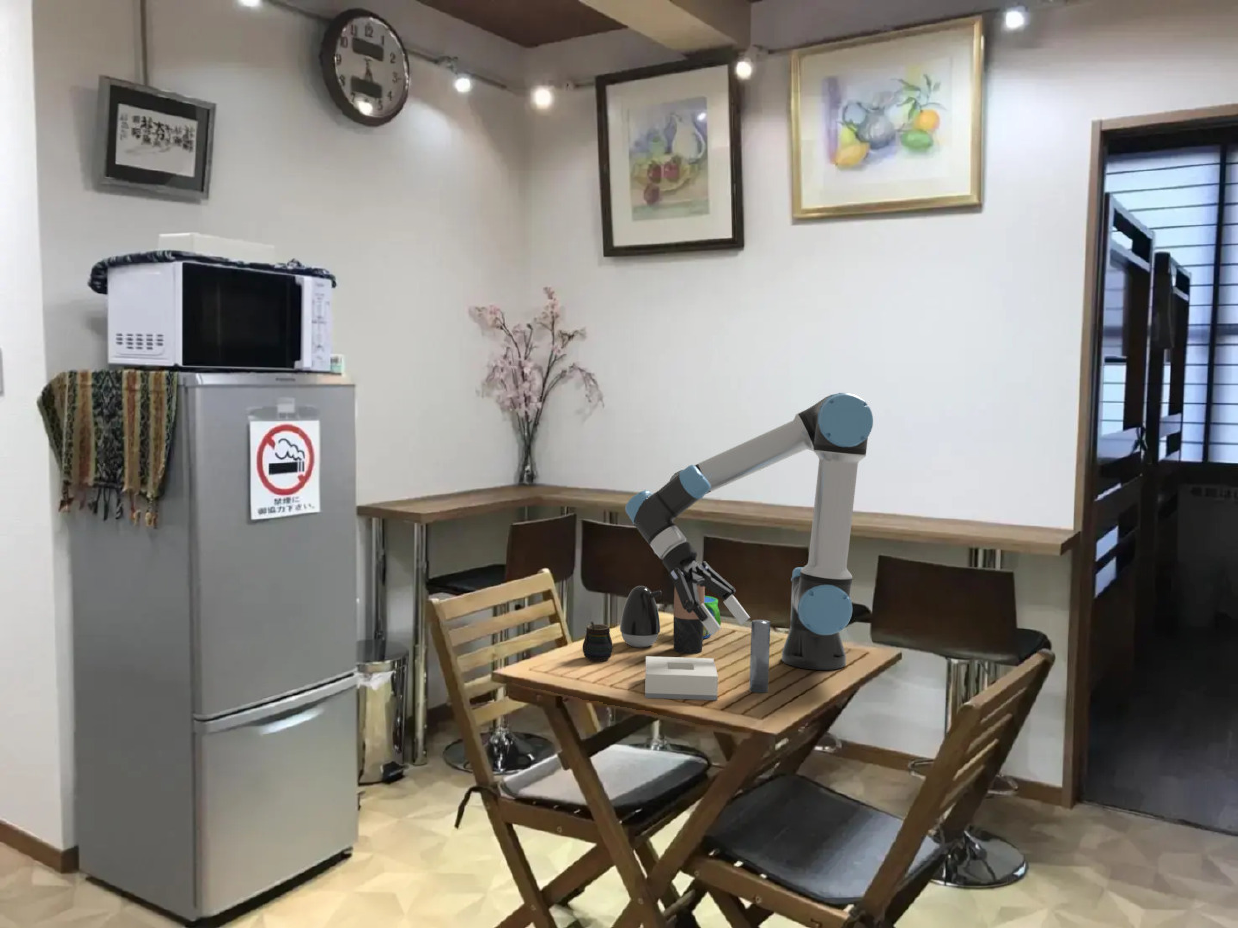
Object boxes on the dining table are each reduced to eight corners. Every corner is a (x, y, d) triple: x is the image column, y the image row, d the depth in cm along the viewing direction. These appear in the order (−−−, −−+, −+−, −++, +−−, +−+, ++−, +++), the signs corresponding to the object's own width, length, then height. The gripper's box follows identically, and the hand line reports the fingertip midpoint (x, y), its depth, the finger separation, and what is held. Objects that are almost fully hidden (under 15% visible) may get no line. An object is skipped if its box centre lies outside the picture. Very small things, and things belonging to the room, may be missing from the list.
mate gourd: (615, 656, 242) (616, 616, 241) (608, 664, 235) (609, 622, 234) (586, 654, 244) (587, 613, 243) (579, 662, 236) (580, 620, 235)
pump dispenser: (654, 651, 248) (656, 590, 248) (614, 647, 251) (616, 587, 250) (664, 642, 258) (666, 584, 257) (625, 638, 261) (627, 581, 260)
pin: (766, 688, 218) (769, 620, 217) (769, 693, 214) (771, 623, 213) (748, 687, 218) (750, 619, 217) (750, 692, 214) (752, 623, 213)
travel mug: (706, 653, 247) (708, 573, 246) (676, 654, 246) (678, 573, 245) (698, 646, 255) (701, 568, 254) (669, 646, 253) (671, 568, 252)
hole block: (712, 680, 223) (713, 658, 222) (717, 700, 208) (717, 676, 208) (645, 678, 223) (645, 656, 223) (644, 697, 208) (645, 674, 208)
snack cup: (730, 640, 262) (732, 602, 262) (698, 644, 257) (699, 605, 256) (695, 628, 276) (696, 592, 275) (663, 632, 270) (664, 594, 269)
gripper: (691, 555, 238) (745, 627, 231) (634, 567, 217) (691, 646, 210) (711, 535, 235) (767, 607, 227) (655, 545, 214) (714, 625, 207)
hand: (731, 626), depth 219 cm, fingers open, 13 cm apart
